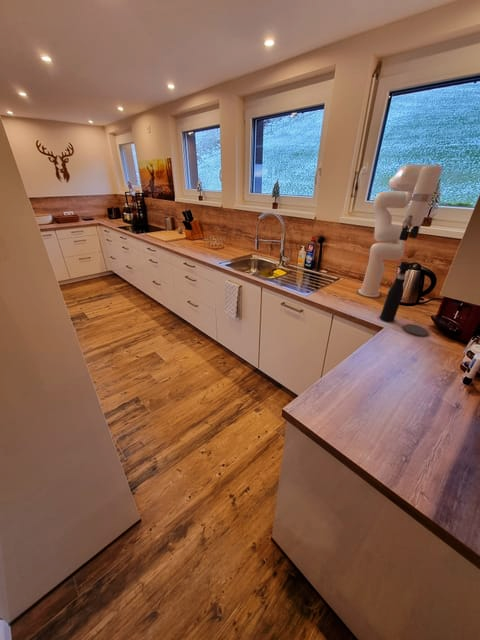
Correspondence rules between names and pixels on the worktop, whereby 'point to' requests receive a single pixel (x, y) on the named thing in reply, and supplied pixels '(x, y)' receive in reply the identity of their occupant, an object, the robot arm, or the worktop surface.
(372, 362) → the worktop surface
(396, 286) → the black bottle
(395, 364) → the worktop surface
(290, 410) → the worktop surface
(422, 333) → the slate coaster
